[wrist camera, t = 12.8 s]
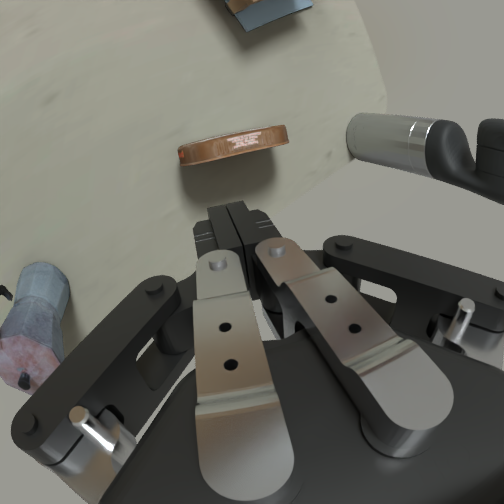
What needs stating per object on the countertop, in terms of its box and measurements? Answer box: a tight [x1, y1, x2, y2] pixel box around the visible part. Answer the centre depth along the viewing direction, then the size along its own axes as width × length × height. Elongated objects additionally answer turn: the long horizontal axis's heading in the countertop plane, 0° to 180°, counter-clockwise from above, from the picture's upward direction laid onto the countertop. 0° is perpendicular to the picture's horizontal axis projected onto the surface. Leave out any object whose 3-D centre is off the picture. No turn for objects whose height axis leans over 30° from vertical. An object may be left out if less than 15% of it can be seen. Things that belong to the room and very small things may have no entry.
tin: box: [178, 125, 289, 166], centre depth 39 cm, size 15×3×8 cm, turn 101°
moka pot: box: [0, 262, 70, 395], centre depth 29 cm, size 10×15×20 cm, turn 32°
